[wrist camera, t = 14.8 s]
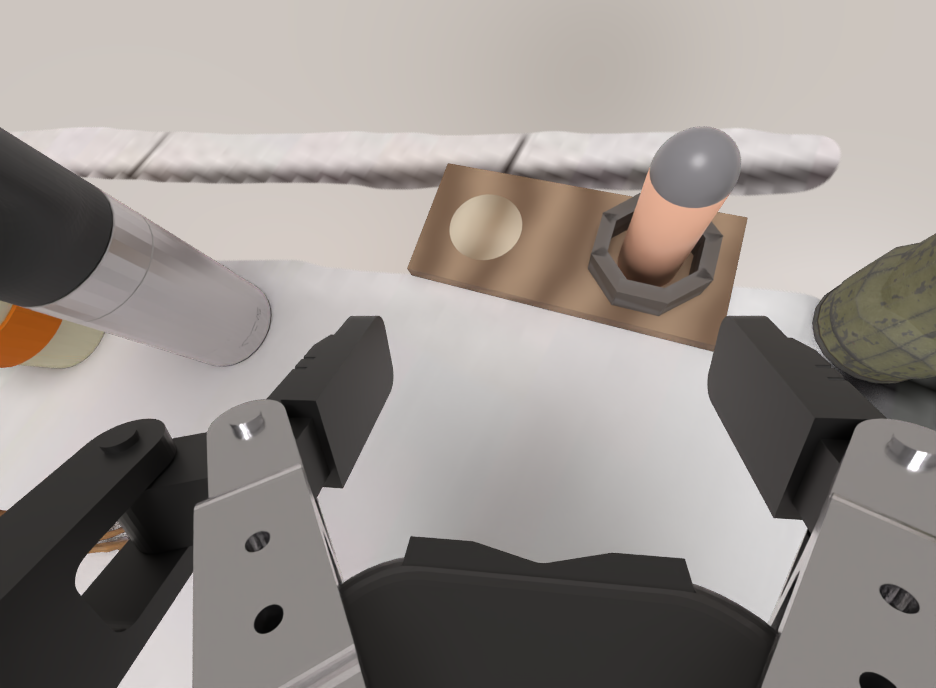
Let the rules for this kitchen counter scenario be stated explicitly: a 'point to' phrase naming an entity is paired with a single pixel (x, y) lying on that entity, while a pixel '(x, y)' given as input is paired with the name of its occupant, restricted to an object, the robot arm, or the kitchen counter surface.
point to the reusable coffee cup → (42, 339)
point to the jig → (571, 255)
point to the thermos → (883, 317)
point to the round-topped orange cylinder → (678, 202)
